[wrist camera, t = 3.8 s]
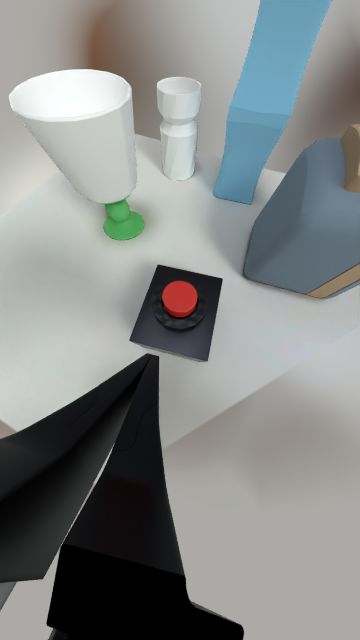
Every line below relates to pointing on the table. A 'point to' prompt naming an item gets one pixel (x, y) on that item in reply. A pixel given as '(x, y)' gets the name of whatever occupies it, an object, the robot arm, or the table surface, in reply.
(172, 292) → the button
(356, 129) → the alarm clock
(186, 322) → the control block
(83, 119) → the cup
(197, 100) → the vase
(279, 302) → the table surface
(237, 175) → the vase
